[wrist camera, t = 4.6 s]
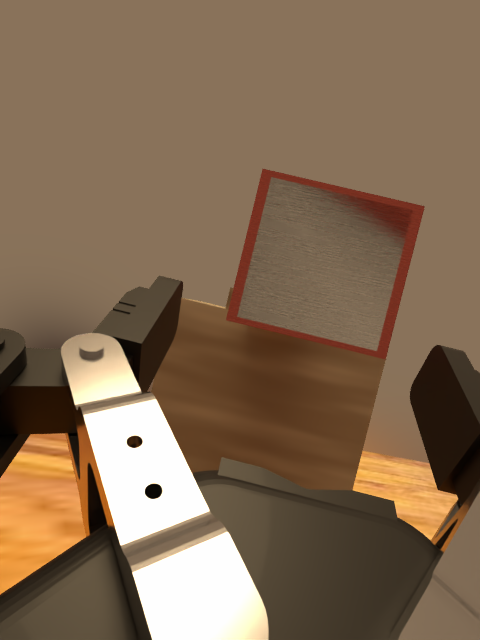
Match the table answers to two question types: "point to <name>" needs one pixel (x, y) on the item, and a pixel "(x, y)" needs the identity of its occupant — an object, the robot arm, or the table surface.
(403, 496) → the table surface
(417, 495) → the table surface
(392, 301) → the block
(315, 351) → the stand
